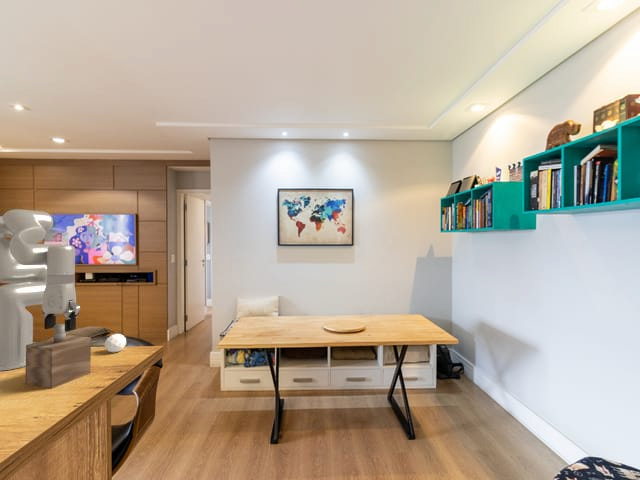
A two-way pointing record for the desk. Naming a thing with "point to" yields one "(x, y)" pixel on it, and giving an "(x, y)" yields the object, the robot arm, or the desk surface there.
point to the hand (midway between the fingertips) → (59, 329)
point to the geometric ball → (115, 343)
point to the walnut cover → (57, 359)
